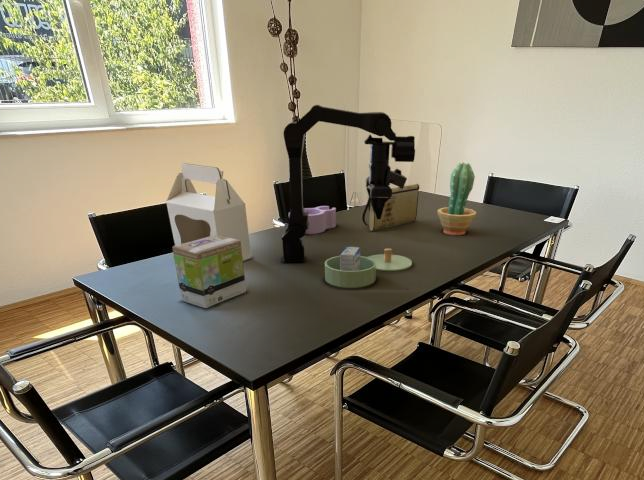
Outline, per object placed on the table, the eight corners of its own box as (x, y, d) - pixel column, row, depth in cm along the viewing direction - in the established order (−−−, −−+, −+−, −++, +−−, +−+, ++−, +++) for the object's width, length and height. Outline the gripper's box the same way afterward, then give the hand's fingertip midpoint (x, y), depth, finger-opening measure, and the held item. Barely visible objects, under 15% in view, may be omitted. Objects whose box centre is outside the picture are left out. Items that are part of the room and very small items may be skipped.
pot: (325, 289, 135) (325, 271, 132) (324, 271, 147) (324, 255, 145) (377, 289, 136) (378, 271, 133) (372, 271, 148) (373, 254, 146)
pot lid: (365, 273, 147) (365, 257, 144) (361, 257, 160) (361, 242, 157) (415, 272, 148) (417, 256, 145) (407, 257, 161) (408, 242, 158)
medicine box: (354, 284, 138) (355, 255, 133) (340, 283, 139) (339, 253, 134) (360, 275, 144) (360, 247, 140) (346, 274, 145) (346, 246, 140)
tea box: (207, 309, 122) (197, 252, 114) (181, 301, 126) (169, 246, 118) (247, 292, 133) (241, 238, 124) (222, 285, 137) (214, 233, 129)
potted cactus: (479, 230, 191) (490, 162, 177) (465, 239, 180) (475, 167, 166) (444, 225, 198) (451, 159, 184) (428, 233, 187) (435, 163, 173)
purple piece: (322, 221, 200) (321, 204, 196) (342, 227, 193) (342, 209, 189) (285, 230, 188) (284, 212, 184) (306, 236, 181) (305, 217, 177)
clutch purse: (407, 218, 207) (409, 181, 199) (419, 221, 203) (422, 183, 194) (357, 229, 190) (358, 189, 182) (369, 233, 186) (370, 192, 178)
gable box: (252, 258, 158) (241, 166, 142) (223, 268, 149) (208, 171, 133) (206, 247, 168) (191, 159, 152) (176, 256, 158) (157, 164, 143)
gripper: (411, 166, 134) (406, 223, 143) (401, 157, 149) (397, 209, 158) (372, 165, 133) (370, 223, 142) (366, 157, 148) (364, 209, 157)
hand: (377, 215), depth 150 cm, fingers open, 9 cm apart
